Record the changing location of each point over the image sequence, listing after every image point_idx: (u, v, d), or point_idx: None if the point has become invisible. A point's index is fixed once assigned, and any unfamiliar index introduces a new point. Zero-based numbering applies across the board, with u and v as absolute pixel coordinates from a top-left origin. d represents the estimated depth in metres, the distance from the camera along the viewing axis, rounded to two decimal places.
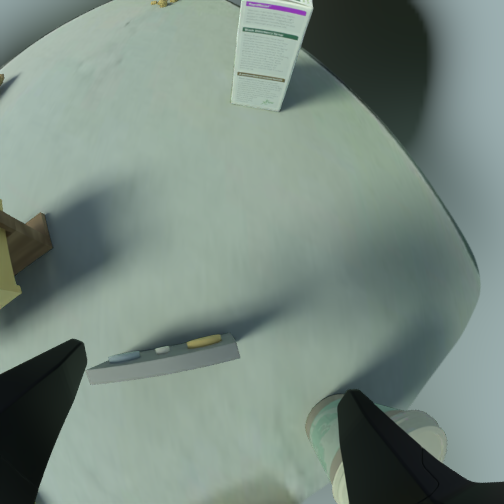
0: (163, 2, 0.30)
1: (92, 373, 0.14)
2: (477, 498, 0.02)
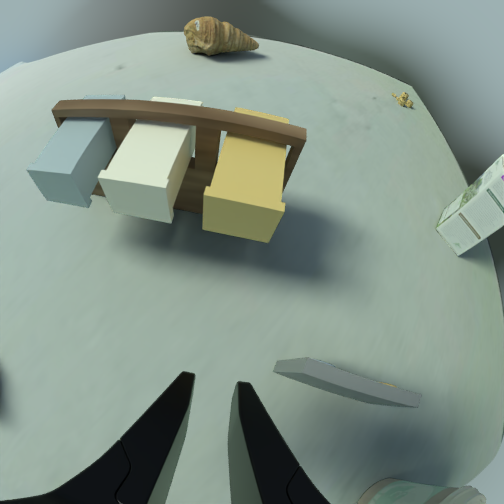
0: (403, 102, 0.44)
1: (313, 363, 0.15)
2: None
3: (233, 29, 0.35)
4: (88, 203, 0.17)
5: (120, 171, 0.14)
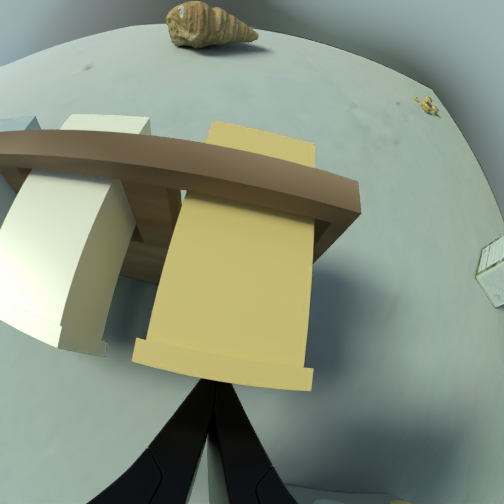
0: (428, 108, 0.35)
1: None
2: None
3: (226, 16, 0.26)
4: None
5: None
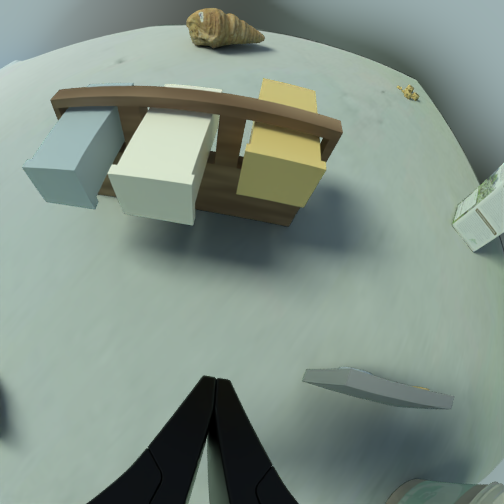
0: (409, 94, 0.41)
1: (356, 374, 0.13)
2: None
3: (238, 21, 0.33)
4: (94, 204, 0.15)
5: (134, 166, 0.12)
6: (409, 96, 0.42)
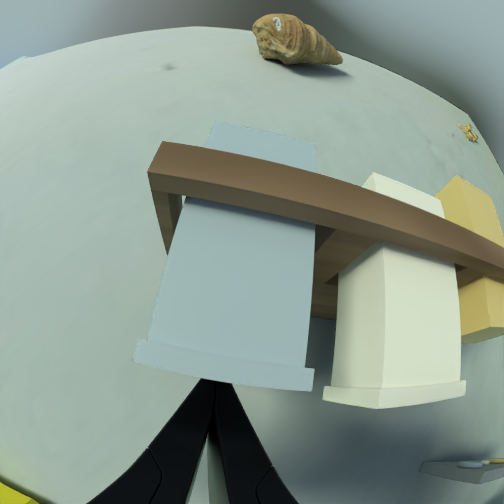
0: (472, 136, 0.36)
1: (485, 474, 0.07)
2: None
3: (319, 36, 0.28)
4: None
5: (408, 382, 0.07)
6: (471, 138, 0.37)
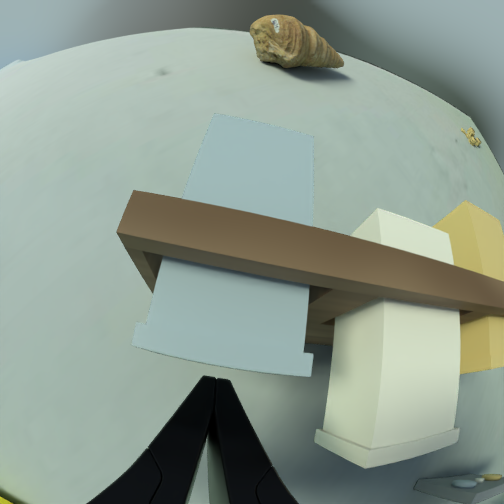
0: (474, 141, 0.35)
1: (477, 495, 0.07)
2: None
3: (319, 38, 0.27)
4: None
5: (399, 439, 0.06)
6: (474, 143, 0.36)
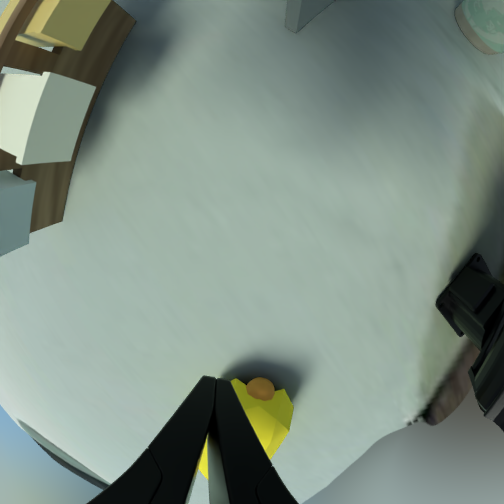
0: None
1: None
2: None
3: None
4: (31, 182, 0.12)
5: (21, 136, 0.08)
6: None
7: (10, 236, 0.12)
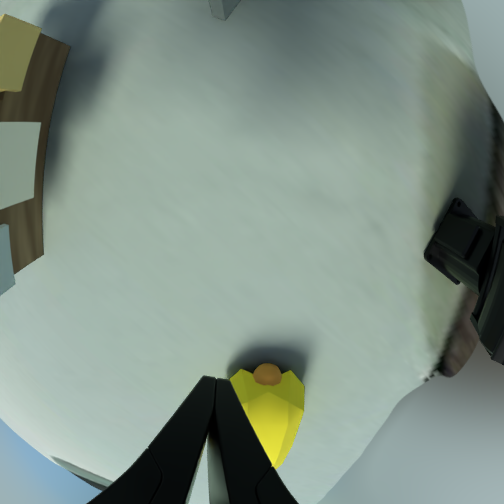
0: None
1: None
2: None
3: None
4: (4, 226, 0.12)
5: None
6: None
7: None
